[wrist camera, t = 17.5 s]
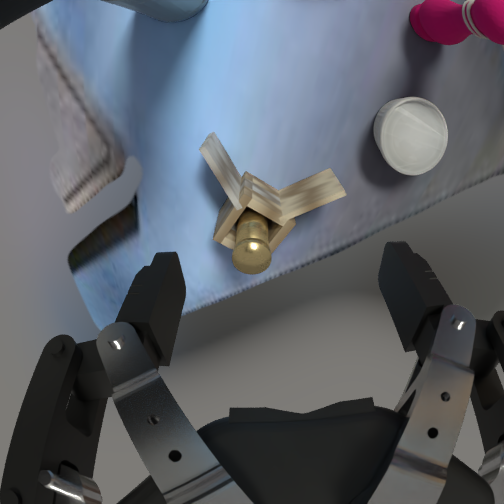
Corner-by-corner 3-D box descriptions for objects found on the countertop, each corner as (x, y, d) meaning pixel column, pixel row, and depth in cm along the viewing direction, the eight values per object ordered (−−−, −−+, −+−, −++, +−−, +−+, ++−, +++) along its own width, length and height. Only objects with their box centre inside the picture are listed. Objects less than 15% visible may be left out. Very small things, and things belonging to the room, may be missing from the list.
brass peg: (233, 208, 46) (225, 263, 34) (248, 185, 43) (245, 236, 32) (257, 221, 47) (257, 279, 35) (273, 200, 45) (279, 254, 33)
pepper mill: (418, 48, 29) (514, 58, 13) (398, 5, 26) (488, -15, 9) (452, 40, 27) (548, 52, 11) (434, -2, 24) (526, -12, 7)
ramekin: (427, 90, 33) (446, 96, 29) (432, 158, 39) (449, 170, 35) (361, 96, 35) (374, 101, 31) (371, 168, 41) (384, 181, 37)
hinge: (177, 189, 44) (163, 213, 37) (228, 103, 36) (221, 111, 30) (275, 242, 49) (278, 273, 42) (333, 170, 42) (348, 192, 35)
